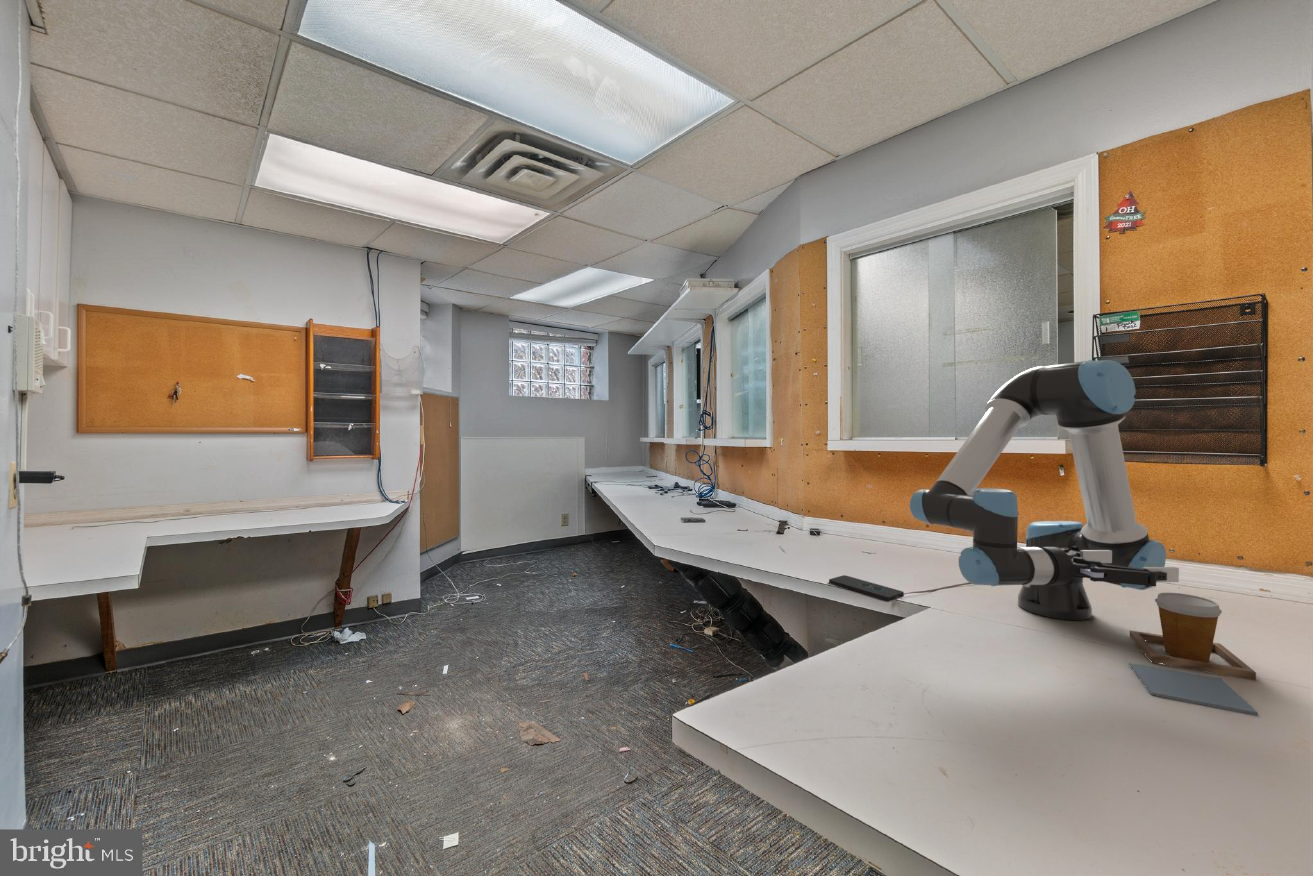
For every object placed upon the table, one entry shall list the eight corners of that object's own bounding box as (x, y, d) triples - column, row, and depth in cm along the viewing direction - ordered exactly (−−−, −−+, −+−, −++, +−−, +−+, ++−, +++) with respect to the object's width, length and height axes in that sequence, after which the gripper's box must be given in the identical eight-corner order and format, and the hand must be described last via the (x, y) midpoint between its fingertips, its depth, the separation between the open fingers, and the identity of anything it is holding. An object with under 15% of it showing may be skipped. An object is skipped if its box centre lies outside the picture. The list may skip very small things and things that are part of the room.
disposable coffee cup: (1189, 647, 108) (1190, 592, 108) (1236, 668, 99) (1237, 608, 99) (1141, 645, 109) (1142, 591, 109) (1183, 666, 100) (1183, 607, 100)
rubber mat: (1151, 695, 90) (1151, 692, 90) (1128, 664, 101) (1128, 662, 101) (1257, 715, 83) (1258, 712, 83) (1220, 680, 94) (1220, 678, 94)
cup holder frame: (1151, 662, 101) (1151, 655, 101) (1129, 636, 114) (1129, 630, 114) (1255, 680, 94) (1256, 672, 94) (1219, 650, 107) (1219, 643, 107)
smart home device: (888, 597, 139) (827, 579, 155) (888, 603, 139) (827, 584, 155) (905, 591, 143) (844, 574, 160) (905, 597, 143) (844, 579, 160)
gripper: (997, 567, 115) (1087, 566, 116) (1096, 605, 90) (1209, 604, 91) (997, 534, 115) (1087, 534, 116) (1096, 563, 90) (1210, 562, 91)
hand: (1141, 564), depth 103 cm, fingers open, 13 cm apart
